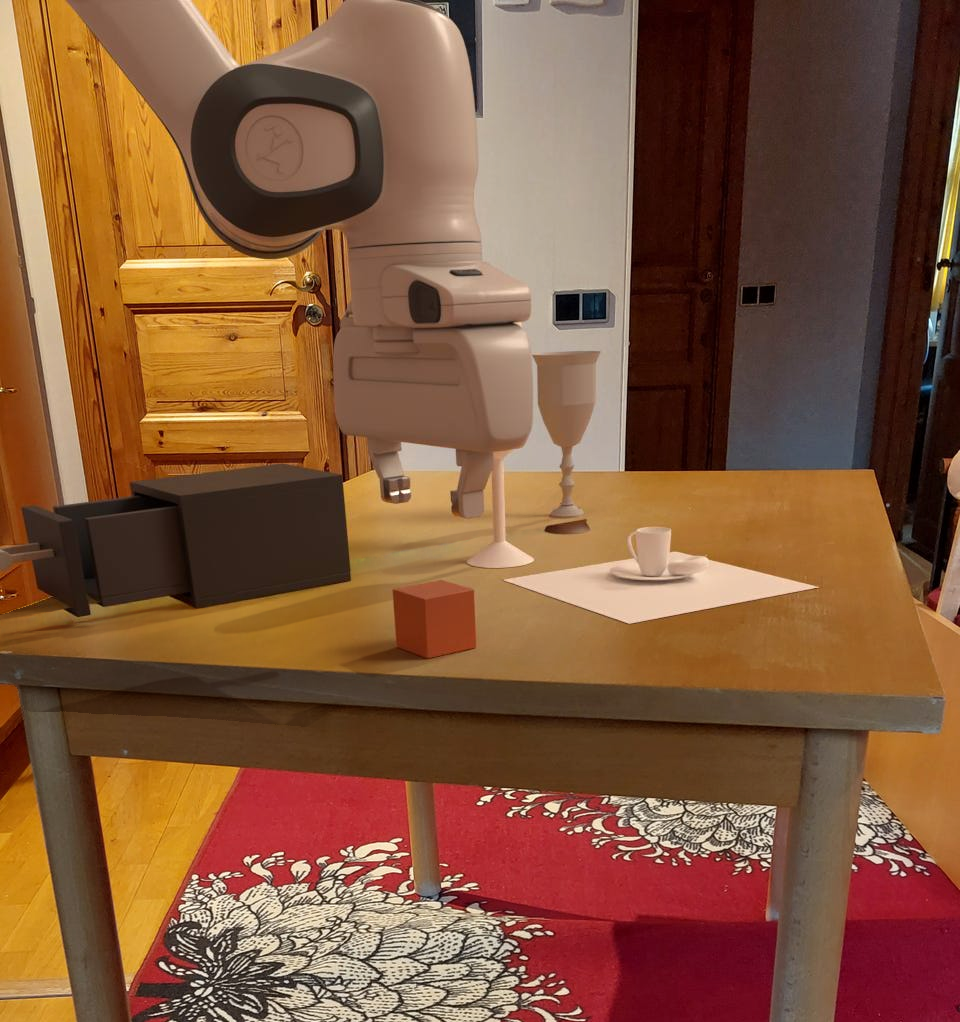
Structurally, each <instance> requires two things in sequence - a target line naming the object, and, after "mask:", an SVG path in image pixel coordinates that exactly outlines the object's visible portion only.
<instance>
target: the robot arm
mask: <svg viewBox="0 0 960 1022" xmlns="http://www.w3.org/2000/svg"><path fill="white" fill-rule="evenodd" d="M64 1H65V2H66V3H67V4H68V5H69V6H70V8H71V9H72V10H73V11H74V12H75V13H76V15H77V16H78V17H79V18H80V20H81V21H82V22H83V23H84V24H85V26H86V27H87V28H88V29H89V31H90V32H91V33H92V35H93V36H94V37H95V39H96V40H97V41H98V43H100V45H101V46H102V47H103V49H104V50H105V52H106V53H107V54H108V55H109V56H110V58H111V59H112V60H113V62H114V63H115V65H117V67H118V68H119V69H120V70H121V72H122V73H123V74H124V76H125V77H126V78H127V80H128V81H129V82H130V83H131V85H132V86H133V87H134V88H135V90H136V91H137V93H139V95H140V96H141V97H142V99H143V101H145V103H146V104H147V105H148V106H149V108H150V109H151V111H152V112H153V113H154V114H155V115H156V118H158V120H159V121H160V122H161V124H162V125H163V127H164V128H165V130H166V131H167V133H168V134H169V136H170V138H171V139H172V141H173V143H174V145H175V147H176V148H177V150H178V153H179V156H180V158H181V161H182V164H183V167H184V170H185V173H186V178H187V181H188V184H189V187H190V190H191V193H192V196H193V199H194V201H195V203H196V206H197V208H198V210H199V212H200V214H201V216H202V217H203V219H204V221H205V223H206V224H207V225H208V227H209V228H210V229H211V231H212V232H213V233H214V234H215V235H216V236H217V238H219V239H220V240H221V241H222V242H223V243H225V245H227V246H228V247H230V248H232V249H233V250H235V251H236V252H239V253H241V254H243V255H245V256H247V257H252V258H255V259H259V260H260V259H261V260H281V259H285V258H289V257H292V256H295V255H297V254H299V253H301V252H303V251H304V250H306V249H308V248H309V247H310V246H311V245H312V244H314V243H315V241H317V239H318V238H320V236H322V234H323V232H324V231H328V230H338V231H340V232H341V233H342V234H343V235H344V237H345V239H346V249H347V262H348V263H347V264H348V274H349V284H350V296H351V297H350V299H351V300H350V301H349V302H348V303H347V307H346V310H345V312H344V314H343V317H341V318H340V330H339V331H338V332H337V334H336V336H335V338H334V343H333V360H332V361H333V365H332V368H333V369H332V370H333V373H332V375H333V402H334V403H333V404H334V416H335V419H336V422H337V425H338V427H339V429H340V431H341V433H342V434H343V435H346V436H351V437H359V438H366V442H367V443H366V444H367V454H368V456H369V459H370V462H371V463H372V467H373V468H374V472H375V473H376V476H377V479H379V491H380V498H381V501H382V502H384V503H386V504H387V503H388V504H395V505H398V504H404V503H409V502H410V500H411V497H412V492H411V477H410V476H406V475H405V473H404V470H403V466H402V463H401V458H400V455H399V453H398V452H402V443H404V444H405V443H406V444H415V445H422V446H429V447H437V448H445V449H446V448H447V449H453V450H455V462H456V463H455V464H456V465H457V467H461V468H460V473H459V478H458V482H457V486H456V487H457V488H456V489H454V490H449V491H450V502H451V507H450V510H451V514H452V515H453V516H454V517H457V518H461V519H466V520H470V519H476V518H481V517H482V516H483V515H484V514H485V489H486V487H487V484H488V481H489V478H490V475H491V474H492V471H491V470H492V468H493V465H494V457H493V452H499V451H507V450H512V451H513V450H519V449H522V448H523V447H524V446H525V445H526V443H527V441H528V439H529V437H530V435H531V432H532V429H533V423H534V377H533V356H532V349H531V344H530V341H529V337H528V334H527V333H526V330H524V328H523V326H522V327H521V326H519V325H518V324H515V323H517V322H522V323H525V322H526V321H528V320H529V319H530V317H531V314H532V294H531V290H530V288H529V286H528V285H527V284H526V283H524V282H522V281H520V280H519V279H517V278H514V277H512V276H511V275H509V274H507V273H505V272H504V271H501V270H500V269H498V268H497V267H495V266H494V265H492V264H491V263H490V262H487V261H483V246H482V233H481V230H480V226H479V223H478V220H477V217H476V216H477V215H476V210H475V200H474V199H475V187H476V181H477V176H478V172H479V148H478V147H479V146H478V130H477V115H476V104H475V94H474V85H473V79H472V71H471V65H470V59H469V55H468V50H467V48H466V44H465V41H464V38H463V35H462V34H461V31H460V29H459V28H458V26H457V25H456V24H455V22H454V21H453V20H452V19H451V18H450V16H448V15H447V14H446V13H445V12H443V11H441V10H440V9H438V8H435V7H434V6H433V5H432V4H429V3H427V2H424V1H422V0H344V1H342V3H341V4H340V5H339V7H338V8H337V9H336V11H334V12H333V14H331V16H330V17H329V18H327V19H326V20H325V21H324V22H323V23H321V24H320V25H319V26H317V27H316V28H315V29H314V30H312V31H311V32H309V33H308V34H306V35H305V36H303V37H302V38H300V39H299V40H297V41H296V42H294V43H292V44H290V45H287V46H286V47H284V48H282V49H280V50H277V51H275V52H273V53H271V54H269V55H267V56H263V57H260V58H258V59H255V60H254V61H253V60H252V61H250V62H247V63H245V64H242V65H240V64H239V63H238V62H237V61H236V59H235V58H234V57H233V56H232V54H231V53H230V52H229V50H228V49H227V47H226V46H225V45H224V43H223V42H222V40H221V39H220V38H219V36H218V34H217V33H215V31H214V29H213V28H212V26H211V25H210V24H209V23H208V21H207V20H206V18H205V17H204V16H203V14H202V13H201V11H200V10H199V9H198V7H197V6H196V5H195V3H194V2H193V1H192V0H64Z"/></svg>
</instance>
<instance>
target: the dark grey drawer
mask: <svg viewBox="0 0 960 1022" xmlns="http://www.w3.org/2000/svg"><path fill="white" fill-rule="evenodd" d="M20 510H21V513H22V518H23V522H24V523H23V524H24V528H25V529H24V530H25V533H26V534H25V535H26V539H27V543H24V544H16V545H10V546H3V547H0V571H7V570H10V569H11V568H12V566H13V564H15V563H23V562H30V561H31V562H32V563H31V564H32V567H33V573H34V578H35V582H36V583H35V584H36V588H37V590H39V591H41V592H43V593H44V594H46V595H48V596H50V597H52V598H54V599H56V600H57V601H58V602H61V603H63V604H64V605H66V606H68V607H66V608H63V610H64V611H65V612H67V613H70V614H71V615H72V616H74V617H76V618H83V617H87V616H92V613H91V607H90V601H89V597H90V598H92V599H93V600H95V601H97V602H96V603H95V604H97V605H98V606H100V607H102V608H108V607H114V606H120V605H123V604H130V603H136V602H142V601H147V600H154V599H158V598H159V599H161V598H165V597H170V596H171V595H177V594H183V593H188V592H191V591H190V585H189V578H188V571H187V564H186V557H185V550H184V543H183V537H182V530H181V523H180V516H179V509H178V504H176V503H172V502H169V501H165V500H162V499H158V498H155V497H151V496H148V495H139V496H132V495H131V496H124V497H123V496H122V497H116V498H108V499H101V500H92V501H85V502H77V503H76V502H75V503H68V504H62V505H54V506H52V510H53V511H50V510H48V509H45V508H43V507H41V506H37V505H35V504H31V505H25V506H21V508H20Z"/></svg>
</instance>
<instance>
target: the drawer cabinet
mask: <svg viewBox="0 0 960 1022" xmlns="http://www.w3.org/2000/svg"><path fill="white" fill-rule="evenodd" d="M128 483H129V489H130V495H131V496H139V495H148V496H151V497H155V498H158V499H162V500H165V501H169V502H172V503H176V504H178V509H179V516H180V523H181V530H182V537H183V543H184V550H185V557H186V564H187V571H188V578H189V585H190V591H191V592H188V593H183V594H177V595H171V596H169V597H170V598H171V599H174V600H176V601H178V602H181V603H182V604H185V605H188V606H190V607H191V608H194V609H201V608H207V607H212V606H219V605H224V604H229V603H235V602H241V601H246V600H251V599H256V598H257V599H258V598H263V597H267V596H273V595H278V594H279V595H280V594H283V593H290V592H296V591H301V590H306V589H311V588H312V589H313V588H316V587H322V586H323V587H324V586H327V585H328V586H329V585H333V584H338V583H345V582H350V581H352V574H351V572H352V571H351V560H350V559H351V558H350V549H349V535H348V525H347V524H348V523H347V514H346V503H345V502H346V501H345V490H344V489H345V488H344V479H343V474H340V473H336V472H330V471H325V470H319V469H315V468H309V467H303V466H299V465H292V464H289V463H288V464H286V463H275V464H268V465H259V466H258V465H257V466H251V467H242V468H233V469H225V470H216V471H210V472H209V471H208V472H201V473H192V474H183V475H176V476H175V475H174V476H166V477H159V478H149V479H143V480H141V479H140V480H134V481H133V480H132V481H129V482H128ZM262 596H263V597H262Z"/></svg>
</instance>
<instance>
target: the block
mask: <svg viewBox="0 0 960 1022" xmlns="http://www.w3.org/2000/svg"><path fill="white" fill-rule="evenodd" d="M392 602H393V616H394V618H393V619H394V630H395V642H396V643H395V645H396V646H395V647H396V648H399V649H401V650H403V651H404V650H405V651H407V652H409V653H412V654H415V655H417V656H420V657H422V658H424V659H432V658H436V657H440V656H445V655H449V654H454V653H457V652H458V653H459V652H463V651H467V650H471V649H475V648H477V629H476V627H477V625H476V606H475V603H476V602H475V589H474V588H470V587H467V586H464V585H460V584H457V583H454V582H450V581H446V580H443V579H440V580H434V581H429V582H423V583H418V584H413V585H407V586H402V587H396V588H393V589H392Z"/></svg>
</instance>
